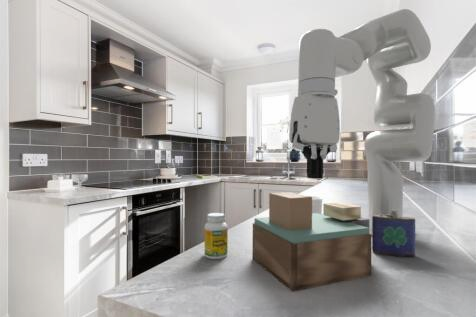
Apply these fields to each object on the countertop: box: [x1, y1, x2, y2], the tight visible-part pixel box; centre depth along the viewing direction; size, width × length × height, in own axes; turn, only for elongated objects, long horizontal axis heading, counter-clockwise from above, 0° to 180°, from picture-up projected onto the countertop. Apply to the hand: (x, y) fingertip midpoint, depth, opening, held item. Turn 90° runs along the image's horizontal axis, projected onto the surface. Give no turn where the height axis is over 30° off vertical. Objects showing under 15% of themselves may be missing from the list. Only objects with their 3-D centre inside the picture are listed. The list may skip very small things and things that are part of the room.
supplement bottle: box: [204, 212, 229, 260], centre depth 63 cm, size 5×5×10 cm
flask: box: [371, 210, 416, 258], centre depth 64 cm, size 9×3×11 cm, turn 74°
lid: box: [254, 191, 369, 244], centre depth 56 cm, size 17×15×7 cm
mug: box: [309, 195, 323, 214], centre depth 86 cm, size 11×9×10 cm
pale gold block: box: [322, 202, 362, 220], centre depth 60 cm, size 5×6×3 cm
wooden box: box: [251, 216, 372, 292], centre depth 57 cm, size 23×16×10 cm
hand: (314, 178), depth 57 cm, fingers closed
